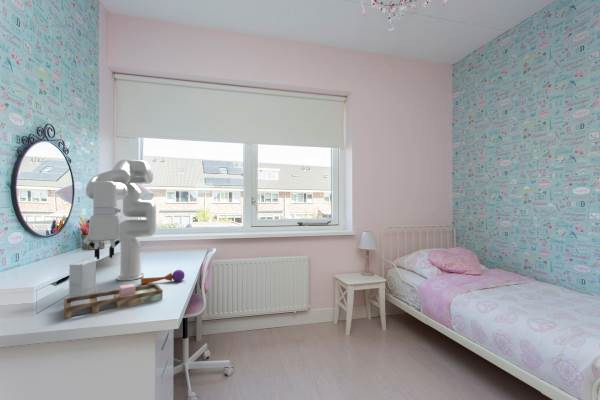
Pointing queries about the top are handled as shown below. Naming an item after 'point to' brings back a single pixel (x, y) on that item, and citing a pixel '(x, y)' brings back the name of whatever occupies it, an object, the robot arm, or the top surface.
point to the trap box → (111, 300)
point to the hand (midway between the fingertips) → (104, 257)
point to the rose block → (127, 290)
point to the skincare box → (82, 278)
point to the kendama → (176, 276)
